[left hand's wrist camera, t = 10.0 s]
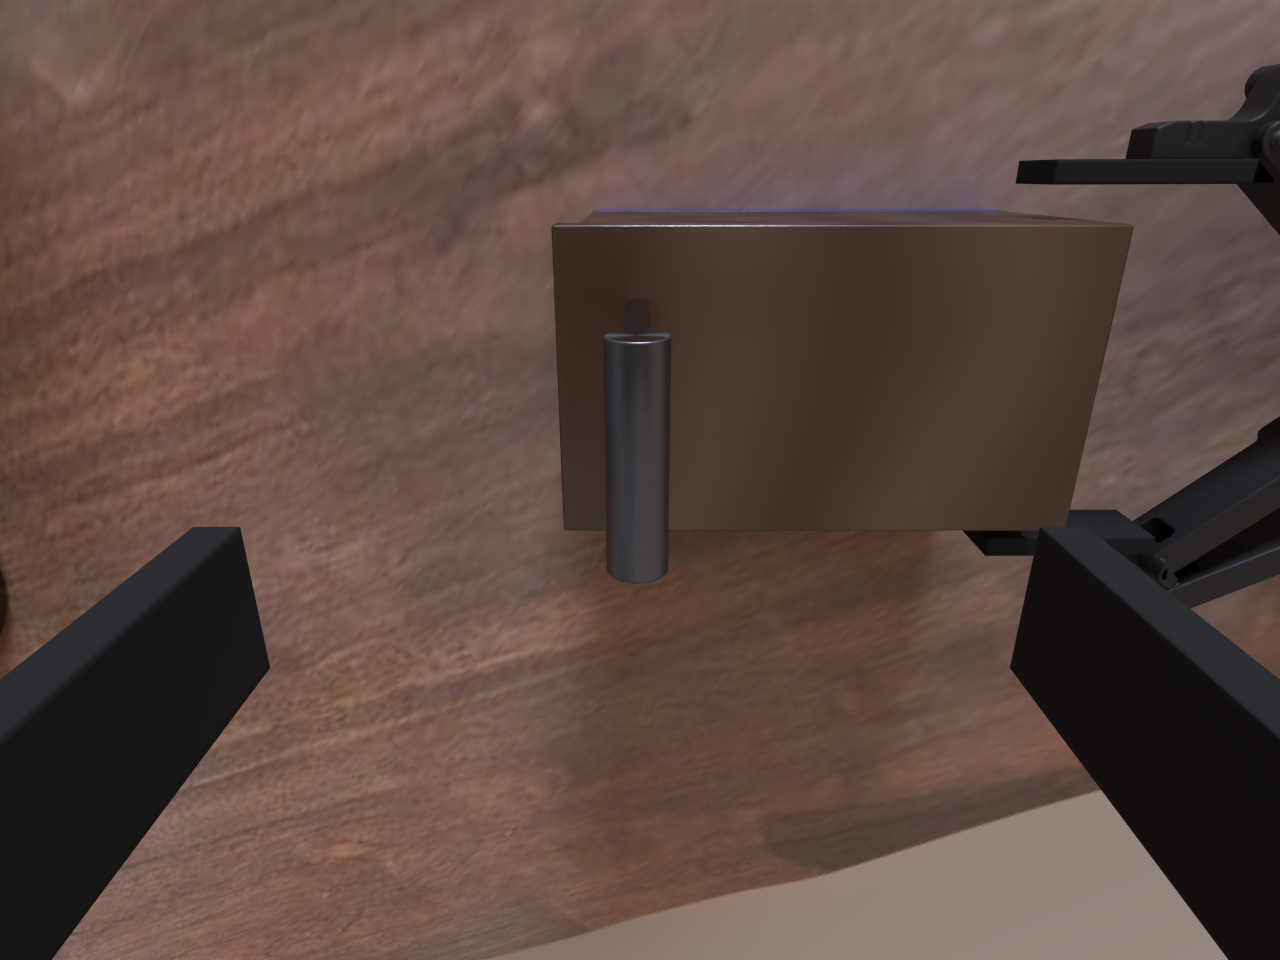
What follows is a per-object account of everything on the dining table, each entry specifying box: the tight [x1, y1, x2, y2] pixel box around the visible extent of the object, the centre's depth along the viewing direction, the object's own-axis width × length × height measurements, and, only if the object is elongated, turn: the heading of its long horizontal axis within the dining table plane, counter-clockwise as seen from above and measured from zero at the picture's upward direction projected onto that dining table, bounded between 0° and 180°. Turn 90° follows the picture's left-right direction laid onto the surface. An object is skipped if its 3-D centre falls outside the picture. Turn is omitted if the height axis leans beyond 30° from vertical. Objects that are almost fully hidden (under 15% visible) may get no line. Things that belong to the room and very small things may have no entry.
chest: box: [581, 210, 1112, 223], centre depth 31 cm, size 17×10×9 cm, turn 90°
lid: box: [552, 223, 1134, 583], centre depth 22 cm, size 18×10×8 cm, turn 90°
